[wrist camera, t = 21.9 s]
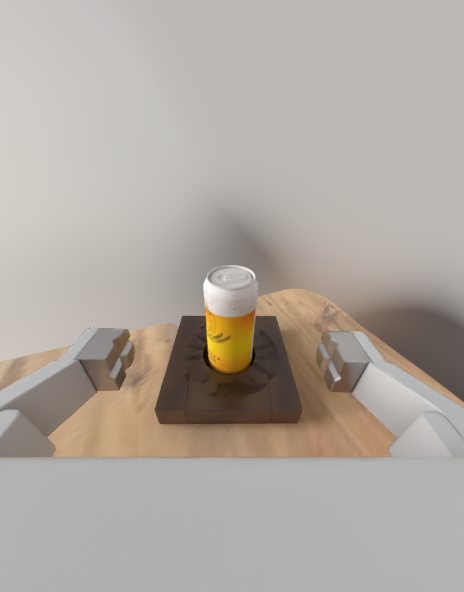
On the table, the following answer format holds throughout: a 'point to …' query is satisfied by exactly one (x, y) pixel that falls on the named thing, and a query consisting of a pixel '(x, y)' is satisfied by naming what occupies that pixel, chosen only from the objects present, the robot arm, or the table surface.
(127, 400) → the table surface
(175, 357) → the holder
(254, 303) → the beer can
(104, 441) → the table surface
